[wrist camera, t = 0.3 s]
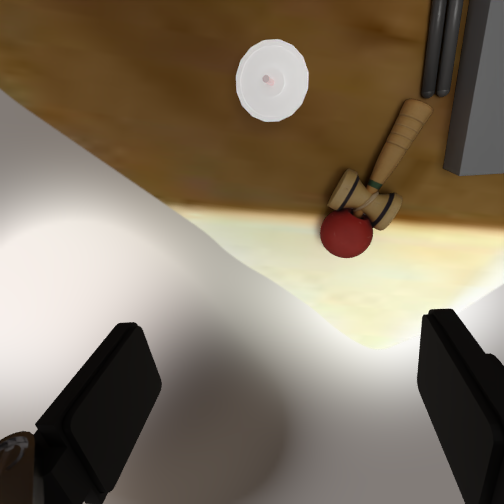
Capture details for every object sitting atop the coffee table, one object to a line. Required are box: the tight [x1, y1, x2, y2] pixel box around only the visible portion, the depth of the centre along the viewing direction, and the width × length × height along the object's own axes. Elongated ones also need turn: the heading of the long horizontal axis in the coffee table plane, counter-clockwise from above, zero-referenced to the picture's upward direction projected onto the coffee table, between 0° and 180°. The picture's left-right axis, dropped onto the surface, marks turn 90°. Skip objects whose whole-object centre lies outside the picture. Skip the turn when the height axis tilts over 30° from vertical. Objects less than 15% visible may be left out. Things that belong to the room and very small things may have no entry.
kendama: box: [320, 99, 433, 258], centre depth 35 cm, size 8×6×18 cm
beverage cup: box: [236, 39, 308, 122], centre depth 28 cm, size 6×6×14 cm
